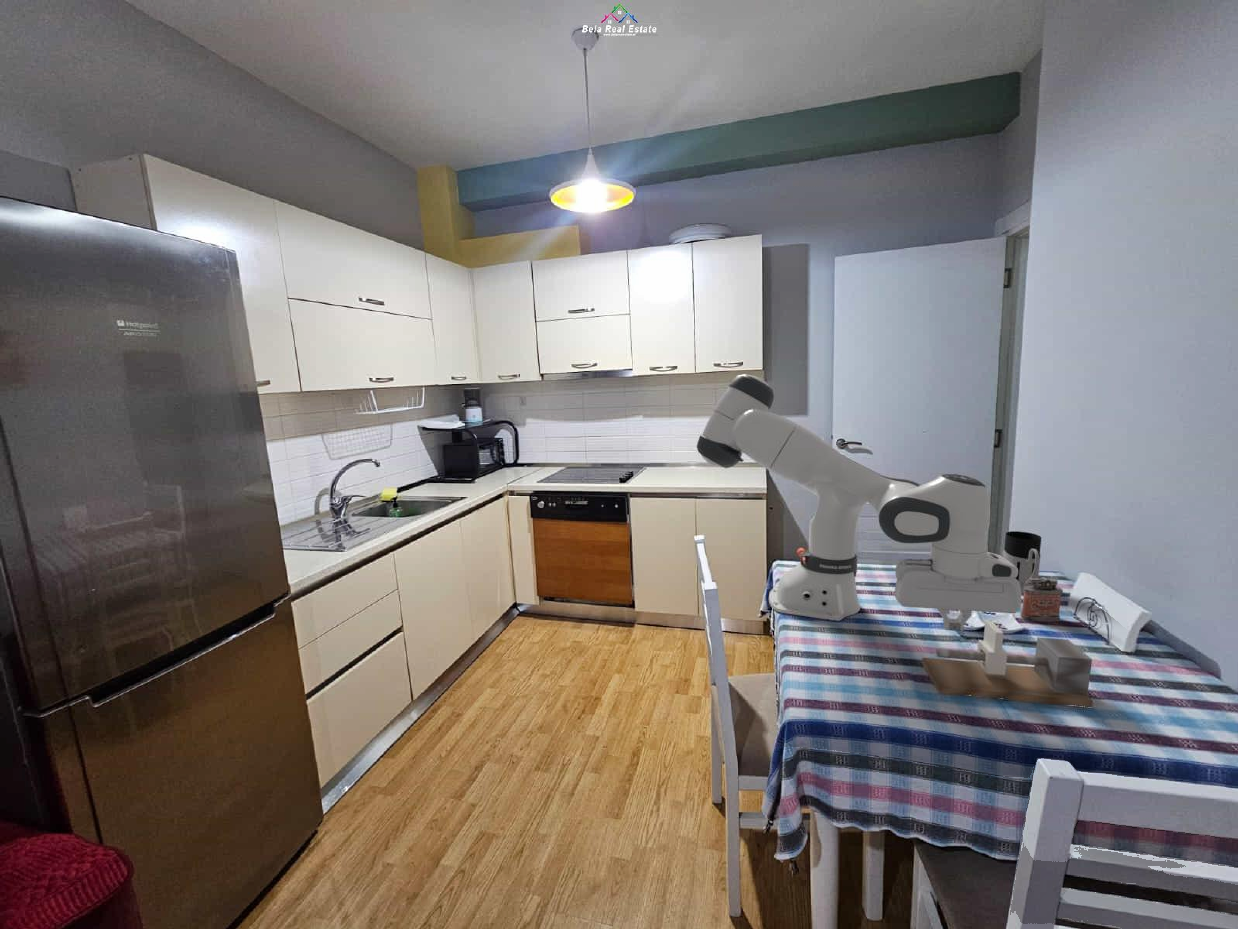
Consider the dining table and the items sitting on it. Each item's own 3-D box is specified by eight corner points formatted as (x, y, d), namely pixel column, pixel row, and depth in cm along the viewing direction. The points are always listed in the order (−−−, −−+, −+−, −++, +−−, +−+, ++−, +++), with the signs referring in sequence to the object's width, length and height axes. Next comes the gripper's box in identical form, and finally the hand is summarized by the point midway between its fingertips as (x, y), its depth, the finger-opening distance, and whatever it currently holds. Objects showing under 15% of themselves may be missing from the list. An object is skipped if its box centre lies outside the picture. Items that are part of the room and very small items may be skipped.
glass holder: (1031, 583, 141) (1036, 531, 138) (1054, 606, 128) (1060, 548, 125) (993, 580, 144) (997, 529, 141) (1012, 602, 131) (1017, 546, 128)
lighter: (1052, 614, 124) (1057, 575, 122) (1063, 621, 120) (1067, 581, 119) (1017, 614, 124) (1020, 575, 123) (1026, 621, 121) (1030, 581, 119)
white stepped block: (986, 673, 96) (990, 632, 95) (976, 660, 100) (980, 621, 99) (1005, 675, 95) (1009, 633, 94) (994, 662, 100) (997, 622, 98)
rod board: (939, 693, 96) (942, 651, 95) (922, 664, 106) (924, 626, 104) (1091, 708, 90) (1097, 664, 89) (1058, 676, 100) (1063, 635, 98)
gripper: (900, 564, 95) (897, 632, 98) (1029, 569, 90) (1022, 642, 92) (892, 552, 101) (889, 617, 104) (1011, 557, 96) (1005, 625, 98)
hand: (952, 629), depth 98 cm, fingers closed
